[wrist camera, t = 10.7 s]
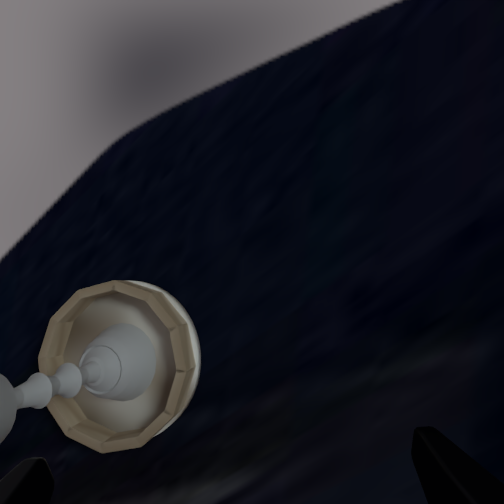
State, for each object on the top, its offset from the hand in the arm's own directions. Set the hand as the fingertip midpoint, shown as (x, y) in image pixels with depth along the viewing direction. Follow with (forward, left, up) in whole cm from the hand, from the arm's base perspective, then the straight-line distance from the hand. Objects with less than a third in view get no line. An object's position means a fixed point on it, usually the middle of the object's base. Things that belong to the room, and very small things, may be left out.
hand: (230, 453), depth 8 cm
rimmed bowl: (-4, +11, -13) cm, 17 cm away
